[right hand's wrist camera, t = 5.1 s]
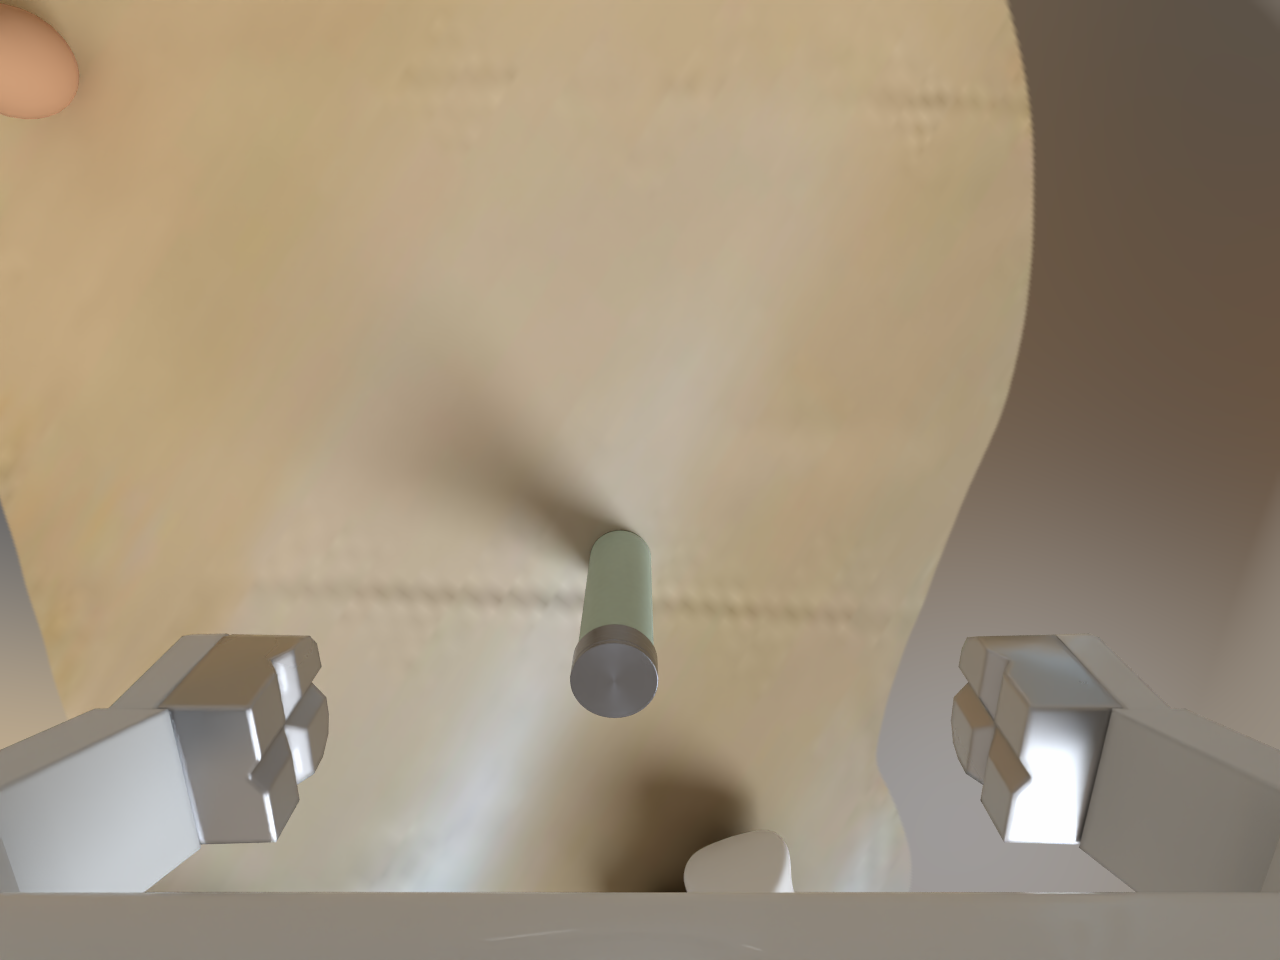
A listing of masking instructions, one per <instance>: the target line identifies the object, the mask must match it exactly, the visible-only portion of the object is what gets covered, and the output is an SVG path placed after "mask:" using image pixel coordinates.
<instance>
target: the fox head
mask: <svg viewBox="0 0 1280 960" xmlns="http://www.w3.org/2000/svg"><path fill="white" fill-rule="evenodd" d="M684 883H685V887H686V890H687V892H794V890H793V886H792V880H791V865H790V855H789V851H788V848H787V845H786V843H785V842H784V840H783V839H782V838H781V836H779V835H778V834H777V833H775V832H773V831H769V830H757V831H751V832H746V833H742V834H738V835H735V836H732V837H729V838H726V839H723V840H720V841H717V842H715V843H712V844H710V845H708V846H706V847H704V848H702V849H700V850H698V851H697V852H696V853H694V854H693V855H692V856H691V858H690V859H689V861H688V862H687V864H686V867H685V871H684Z"/></svg>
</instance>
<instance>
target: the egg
mask: <svg viewBox="0 0 1280 960" xmlns="http://www.w3.org/2000/svg"><path fill="white" fill-rule="evenodd" d="M78 84H79V71H78V65H77V62H76V59H75V57H74V55H73V52H72V51H71V49H70V47H69V46H68V44H67V43H66V41H65V40H64V39H63V37H62V36H61V35H60V34H59V33H58V32H57V31H56V30H55V29H54V28H53V27H52V26H51V25H49V24H48V23H46V22H45V21H43V20H42V19H40V18H39V17H38V16H36V15H34V14H32V13H30V12H28V11H25V10H23V9H21V8H18V7H14V6H10V5H5V4H1V3H0V114H3V115H6V116H9V117H15V118H21V119H39V118H44V117H48V116H51V115H54V114H56V113H59V112H60V111H62V110H63V109H64V108H65V107H67V106H68V105H69V104H70V102H71V101H72V99H73V98H74V96H75V94H76V92H77V88H78Z"/></svg>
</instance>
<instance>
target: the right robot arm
mask: <svg viewBox="0 0 1280 960" xmlns="http://www.w3.org/2000/svg"><path fill="white" fill-rule="evenodd" d="M320 668H321V662H320V657H319V652H318V647H317V643H316V642H315V641H314V640H313V639H312V638H311V637H310V636H295V635H244V634H232V635H229V634H192V635H186V636H182V637H181V638H180V639H179V640H178V641H177V642H176V643H175V644H174V645H173V646H172V647H171V648H170V649H169V650H168V651H167V652H166V653H165V654H164V655H163V656H162V657H161V658H160V659H159V660H157V661H156V662H155V663H154V664H153V665H152V666H151V667H150V668H149V669H148V670H147V671H146V672H145V673H144V674H143V675H142V676H141V677H140V678H139V679H138V680H137V681H136V682H135V683H134V684H133V685H132V686H131V687H130V688H129V689H128V690H127V691H126V692H125V693H124V694H123V695H122V696H121V697H120V698H119V699H118V700H117V701H116V702H115V703H114V704H113V705H111V706H110V707H109V708H108V709H93V710H91V711H88V712H86V713H84V714H82V715H79V716H77V717H75V718H72V719H70V720H68V721H66V722H63V723H61V724H59V725H56V726H54V727H52V728H50V729H47V730H45V731H43V732H40V733H38V734H36V735H34V736H31V737H29V738H27V739H24V740H22V741H20V742H17V743H15V744H13V745H11V746H8V747H6V748H4V749H1V750H0V960H1280V750H1278V749H1276V748H1274V747H1271V746H1269V745H1267V744H1265V743H1262V742H1260V741H1258V740H1255V739H1253V738H1251V737H1249V736H1246V735H1244V734H1242V733H1239V732H1237V731H1235V730H1233V729H1230V728H1228V727H1226V726H1223V725H1221V724H1219V723H1217V722H1214V721H1212V720H1210V719H1208V718H1205V717H1203V716H1201V715H1198V714H1196V713H1194V712H1191V711H1189V710H1187V709H1172V708H1171V707H1170V706H1169V705H1167V703H1166V702H1164V701H1163V700H1162V699H1161V698H1160V697H1159V696H1158V695H1157V694H1156V693H1155V692H1154V691H1153V690H1152V689H1151V688H1150V687H1149V686H1148V685H1147V684H1146V683H1145V682H1144V681H1143V680H1142V679H1141V678H1140V677H1139V676H1138V675H1137V674H1136V673H1135V672H1134V671H1133V670H1132V669H1131V668H1130V667H1129V666H1128V665H1127V664H1126V663H1125V662H1124V661H1123V660H1122V659H1121V658H1120V657H1119V656H1118V655H1117V654H1116V653H1115V652H1114V651H1112V650H1111V649H1110V648H1109V647H1108V646H1107V645H1106V644H1105V643H1104V642H1103V641H1102V640H1101V639H1100V638H1099V637H1097V636H1094V635H1091V634H1089V633H1084V634H1059V635H1019V636H979V637H967V639H966V641H965V643H964V645H963V647H962V650H961V656H960V661H959V668H960V670H961V671H962V673H963V674H964V676H965V677H966V679H967V681H968V683H967V684H966V685H965V686H964V687H963V688H962V689H961V690H960V691H959V693H957V695H956V696H955V697H954V700H953V708H952V716H951V726H952V736H953V744H954V747H955V750H956V754H957V757H958V759H959V761H960V763H961V765H962V767H963V769H964V771H965V773H966V774H967V775H969V776H970V777H972V778H973V779H975V780H977V781H978V782H980V783H981V784H983V788H982V794H981V802H982V804H983V805H984V807H985V809H986V811H987V812H988V814H989V816H990V818H991V820H992V821H993V823H994V825H995V827H996V829H997V830H998V832H999V834H1000V836H1001V838H1002V839H1003V841H1004V842H1017V843H1053V844H1080V846H1079V848H1080V849H1082V850H1083V851H1084V852H1085V853H1087V854H1088V855H1089V856H1090V857H1092V858H1093V859H1094V860H1096V861H1097V862H1098V863H1099V864H1101V865H1102V866H1103V867H1105V868H1106V869H1107V870H1108V871H1110V872H1111V873H1112V874H1114V875H1115V876H1116V877H1118V878H1119V879H1120V880H1121V881H1123V882H1124V883H1125V884H1127V885H1128V886H1129V887H1130V888H1132V889H1133V890H1134V891H1135V892H145V891H146V890H147V889H149V888H150V887H151V886H153V885H154V884H155V883H156V882H158V881H159V880H160V879H162V878H163V877H164V876H165V875H167V874H168V873H169V872H171V871H172V870H173V869H174V868H176V867H177V866H178V865H180V864H181V863H182V862H183V861H185V860H186V859H187V858H189V857H190V856H191V855H192V854H194V853H195V852H196V851H198V850H199V849H200V848H201V846H200V844H227V843H262V842H276V841H277V839H278V838H279V836H280V834H281V832H282V831H283V829H284V827H285V825H286V823H287V822H288V820H289V818H290V816H291V814H292V813H293V811H294V809H295V807H296V805H297V804H298V802H299V794H298V788H297V784H299V783H300V782H302V781H304V780H305V779H307V778H308V777H310V776H311V775H313V774H314V773H315V771H316V769H317V767H318V765H319V763H320V761H321V759H322V757H323V754H324V750H325V746H326V741H327V737H328V723H329V713H328V706H327V699H326V697H325V696H324V695H323V693H322V692H321V691H320V690H319V689H318V688H317V687H316V686H315V685H314V684H313V683H312V681H313V679H314V678H315V676H316V674H317V673H318V671H319V670H320Z"/></svg>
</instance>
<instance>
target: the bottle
mask: <svg viewBox="0 0 1280 960" xmlns="http://www.w3.org/2000/svg"><path fill="white" fill-rule="evenodd" d="M609 624H620V625H626V626H629V627H632V628H635V629H637V630H638V631H640V632H642V633H643V634H644V635H645V636H646V637H647V638H648V639H649V640H650V641H651V643H652V644H653V614H652V579H651V554H650V550H649V548H648V546H647V544H646V543H645V541H644V540H643V539H642V538H640V537H639V536H638V535H636V534H634V533H631V532H628V531H612V532H609V533H607V534H605V535H603V536H601V537H600V538H599V539H598V540H597V541H596V542H595V544H594V545H593V547H592V550H591V554H590V561H589V568H588V576H587V584H586V591H585V599H584V606H583V614H582V621H581V629H580V636H579V641H580V640H581V639H582V638H583V636H584V635H586V634H587V633H588V632H590V631H591V630H593V629H595V628H597V627H600V626H604V625H609Z"/></svg>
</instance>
